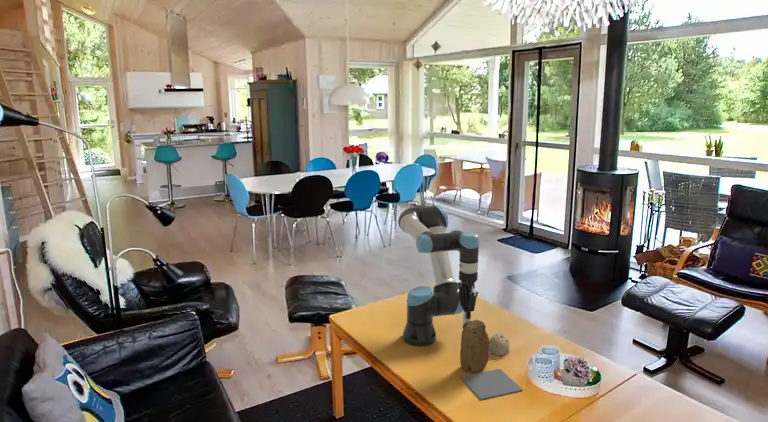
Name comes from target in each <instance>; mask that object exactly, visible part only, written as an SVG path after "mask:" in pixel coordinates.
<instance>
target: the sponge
mask: <svg viewBox="0 0 768 422" xmlns="http://www.w3.org/2000/svg"><path fill="white" fill-rule="evenodd" d="M510 344H511V342H510V339H509V338H508V336H507V335H506V334H504V333H501V332H496V333H495V334H492V335H491V338H489V353H490V354H493V355H496V356H500V357H501V356H505V355H508V354H509V353H510Z"/></svg>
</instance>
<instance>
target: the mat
mask: <svg viewBox="0 0 768 422" xmlns="http://www.w3.org/2000/svg"><path fill="white" fill-rule="evenodd" d="M459 378H460V379H461V380H462V381H463V383H464V384H465V385H466V387H468V389H470V390H471V391H472V392H473V394H475V396H476V397H477V398H478V399H479V400H480V401H483V400H488V399H491V398H492V399H493V398H496V397H501V396H504V395H511V394H515V393H519V392H523V388H522V387H521V386H519V384H517V383H516V381H514V380H513V379H512V378H511V377H510V376H508V375H507V373H505V372H504V371H503V370H502V369H501V368H496V369H492V370H487V371H481V372H475V373H471V374H467V375H463V376H459Z"/></svg>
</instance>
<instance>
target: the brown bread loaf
mask: <svg viewBox="0 0 768 422" xmlns="http://www.w3.org/2000/svg"><path fill="white" fill-rule="evenodd" d="M460 336H461V338H460V350H459V352H460V353H459V354H460V355H459V356H460V357H459V359H460V360H459V361H460V362H459V363H460V366H461V368H462V369H464V370H465V372H470V373H479V372H480V371H481V370H483V369H485V368H486V366H487V364H488V362H489V356H490V352H489V340H490V338H489V335H488V332H487V331H486V324H485V323H484V322H483V321H482V320H479V319H473V320H470V321H469V322H466V323H464V324H463V323H462V331H461V335H460Z"/></svg>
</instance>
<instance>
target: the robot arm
mask: <svg viewBox="0 0 768 422" xmlns="http://www.w3.org/2000/svg"><path fill="white" fill-rule="evenodd" d="M397 220H398V222H397V224H398V227H399V229H400V230H401V231H402V232H403V233H405V234H408V235H409V236H410V237H411V238H412V239H414V241H415V246H416V249H417V252H418V253H422V254H429V258H430V262H431V266H432V267H431V268H432V271H433V277H434V282H435V284H434V286H433V288H432V287H430V286H417V287H413V288H412V289H410V290H409V291H408V293H407V298H406V323H405V326H404V329H403V332H402V340H403V341H404V342H405V343H407V344H408V345H412V346H417V347H418V346H419V347H422V346H423V347H426V346H429V345H432V344H434V343H435V342H436V340H437V332H436V329H435V326H434V323H433V321H434V317H439V316H440V317H442V316H443V317H444V316H454V315H459V314H461V313H462V325H463V324H464V323H466V322H469V321H471V317H472V312H474V311H475V307H476V301H477V297H478V296H479V292H478V291H476V285H475V283H476V282H477V281H478V279H479V278H478V277H479V276H478V274H479V273H478V271H479V251H480V250H479V249H480V238H479V237H480V236H479V234H477V233H475V232H469V231H468V232H463V231H462V230H460V229H454V230H452V231H450V232H446V231H447V228H448V227H449V216H448V213H447V210H446V209H445V208H444V207H443V206H441V205H429V206H428V205H427V206H412V207H409V208H406V209H404V210H403V211H402V212H401V213H400V215H399V216H398V219H397ZM452 251H457V252H458V253H459V264H458V266H459V271H458V279H459V281H460V282H458V281H456V280H455V279H454V278H455V277H454V275H453V269H452V266H451V261H450V256H449V252H452Z"/></svg>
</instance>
